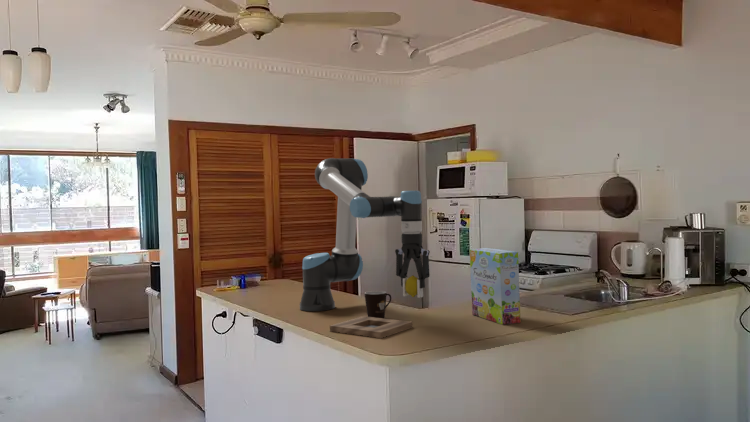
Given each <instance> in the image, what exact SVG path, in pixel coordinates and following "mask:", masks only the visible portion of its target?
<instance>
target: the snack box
mask: <svg viewBox="0 0 750 422" xmlns="http://www.w3.org/2000/svg"><path fill="white" fill-rule="evenodd" d="M469 265H470V266H469V267H470V290H471V291H470V293H471V313H472V315H473V316H476V317H479V318H482V319H484V320H488V321H491V322H493V323H496V324H499V325H502V326H505V325H513V324H521V323H522V322H521V321H522V320H521V300H520V299H521V298H520V297H521V296H520V295H521V294H520V273H519V271H520V269H519V265H520V262H519V252H518V251H516V250H515V251H514V250H507V249H499V248H492V247H491V248H489V247H481V248H470V249H469Z"/></svg>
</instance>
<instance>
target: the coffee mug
mask: <svg viewBox="0 0 750 422" xmlns="http://www.w3.org/2000/svg"><path fill="white" fill-rule="evenodd" d="M363 294H364V299H365V306H366V307H365V309H366V314H367V317H375V318H384V319H386V317H385V315H386V308H387V307H388V306H389V304H390V303H391V302H392V295H391V294H390V293H388V292H387V291H385V290H370V291H365V292H364V293H363ZM387 296H389V301H388V302H387ZM386 303H387V304H386Z"/></svg>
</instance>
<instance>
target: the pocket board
mask: <svg viewBox="0 0 750 422" xmlns="http://www.w3.org/2000/svg"><path fill="white" fill-rule="evenodd" d="M412 328H413V321H410V320H409V321H408V320H400V319H399V320H398V319H393V318H391V319H390V318H385V319H384V318H375V317H368V316H366V315H364V316H363V315H361V316H358V317H356V318H351V319H348V320H344V321H342V322H337V323H334V324H331V325H329V332H333V333H338V332H340V334H345V333H347V334H348V335H353V334H354V336H360V335H363V336H362V337H367V336H369V337H368V338H374V337H376V338H375V339H384V338H387V337H389V336H393V335H394V334H398V333H401V332H404V331H407V330H409V329H412ZM386 336H387V337H386ZM383 337H384V338H383Z"/></svg>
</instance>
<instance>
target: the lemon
mask: <svg viewBox="0 0 750 422" xmlns="http://www.w3.org/2000/svg"><path fill="white" fill-rule="evenodd" d="M407 278H408V279H407V281H406V285H405V288H406V292H407V293H408V294H409V295H408V296H410V297H412V298H415V296H417V280H418V278H419V277H417V276H415V275H414V274H413V275H411V276H409V277H407Z"/></svg>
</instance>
